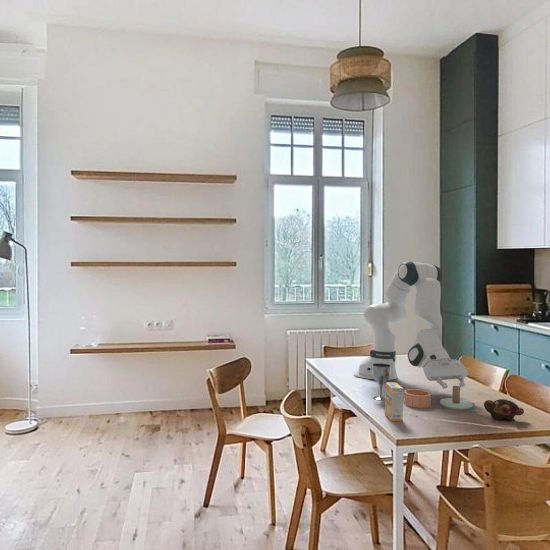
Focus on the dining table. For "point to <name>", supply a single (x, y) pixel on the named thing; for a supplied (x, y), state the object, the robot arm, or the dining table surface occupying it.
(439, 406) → the mat
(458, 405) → the lid
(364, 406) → the dining table surface
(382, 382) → the wine glass
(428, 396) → the bowl
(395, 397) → the supplement box
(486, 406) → the decorative turtle
